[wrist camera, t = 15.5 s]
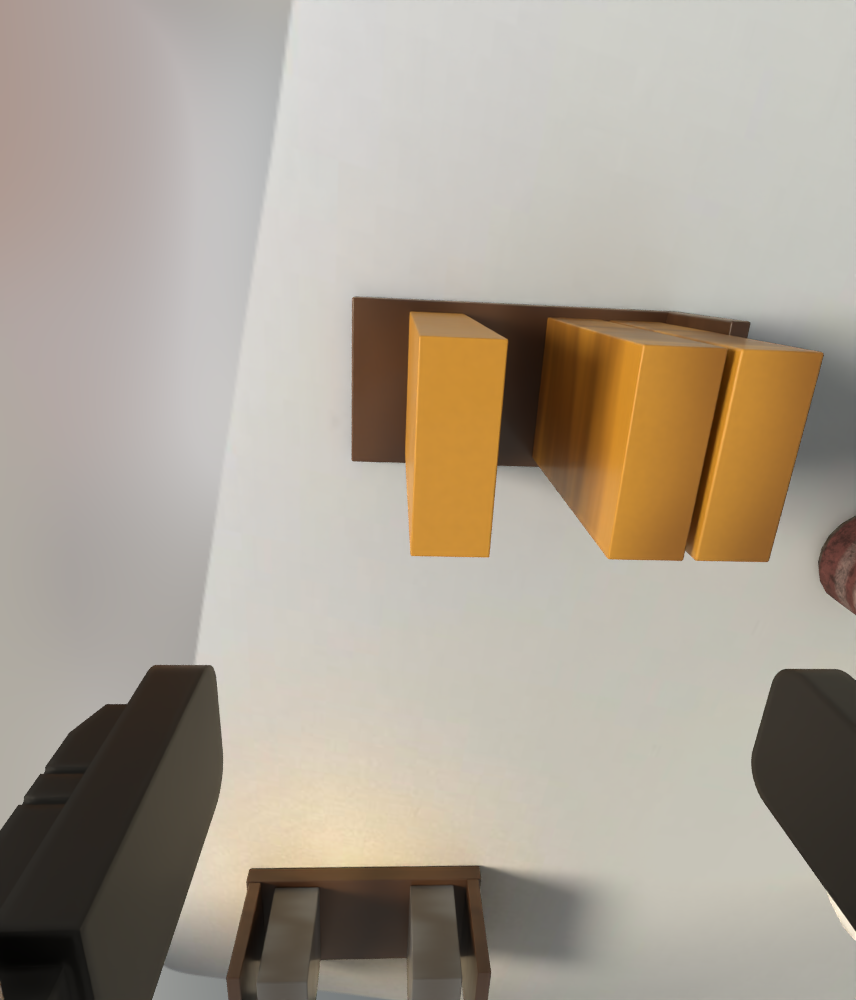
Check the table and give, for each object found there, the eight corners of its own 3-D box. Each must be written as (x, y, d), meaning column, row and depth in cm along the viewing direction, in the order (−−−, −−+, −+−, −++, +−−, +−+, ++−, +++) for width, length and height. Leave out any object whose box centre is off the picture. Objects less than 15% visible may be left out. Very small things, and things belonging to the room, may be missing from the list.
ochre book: (404, 454, 31) (410, 556, 20) (409, 311, 29) (419, 335, 17) (455, 455, 31) (489, 558, 20) (464, 313, 29) (508, 339, 18)
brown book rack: (255, 947, 45) (231, 1063, 38) (249, 868, 42) (222, 978, 35) (471, 943, 46) (484, 1055, 39) (479, 865, 43) (494, 972, 36)
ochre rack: (352, 456, 32) (326, 568, 20) (353, 296, 29) (323, 312, 17) (648, 465, 33) (796, 576, 21) (676, 311, 30) (866, 336, 18)
